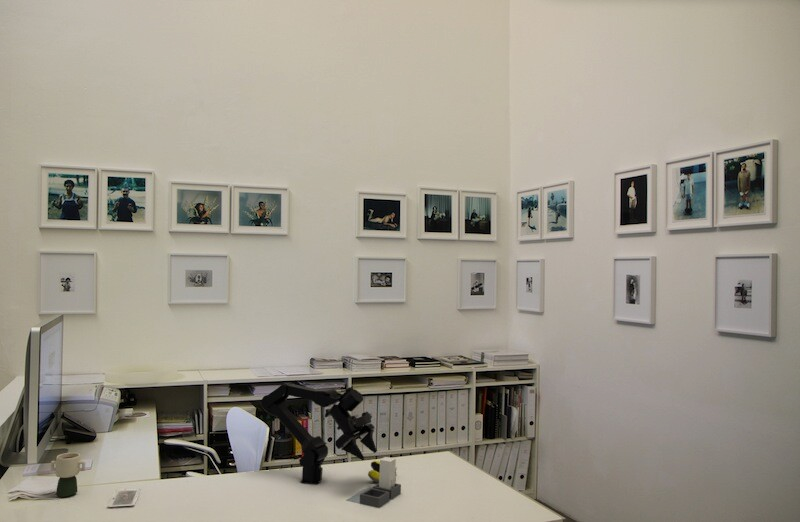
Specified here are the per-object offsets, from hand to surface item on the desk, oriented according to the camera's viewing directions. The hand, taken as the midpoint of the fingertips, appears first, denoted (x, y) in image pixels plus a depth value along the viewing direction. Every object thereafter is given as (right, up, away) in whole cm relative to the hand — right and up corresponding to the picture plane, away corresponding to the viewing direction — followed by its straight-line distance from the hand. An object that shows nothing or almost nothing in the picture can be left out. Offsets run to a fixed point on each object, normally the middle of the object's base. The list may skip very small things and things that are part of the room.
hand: (369, 455), depth 219 cm
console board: (+2, -13, -6) cm, 15 cm away
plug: (+6, -12, -3) cm, 14 cm away
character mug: (-99, -10, -12) cm, 101 cm away
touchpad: (-79, -11, -14) cm, 81 cm away
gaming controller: (+4, -14, +14) cm, 20 cm away
